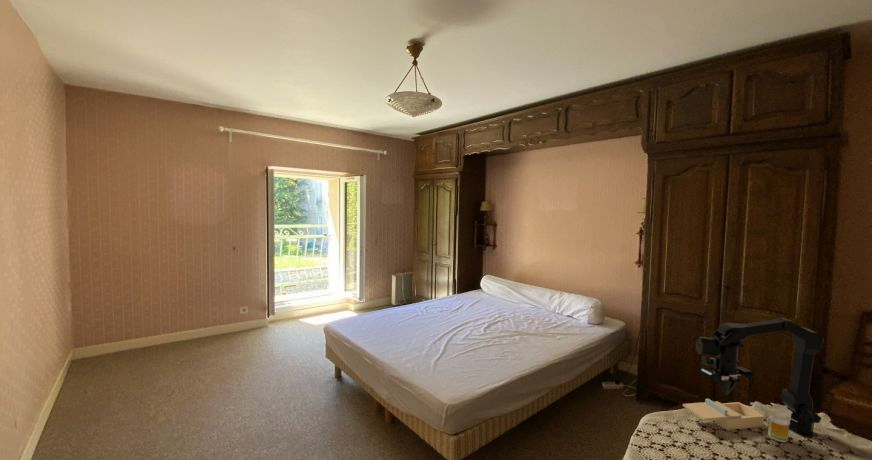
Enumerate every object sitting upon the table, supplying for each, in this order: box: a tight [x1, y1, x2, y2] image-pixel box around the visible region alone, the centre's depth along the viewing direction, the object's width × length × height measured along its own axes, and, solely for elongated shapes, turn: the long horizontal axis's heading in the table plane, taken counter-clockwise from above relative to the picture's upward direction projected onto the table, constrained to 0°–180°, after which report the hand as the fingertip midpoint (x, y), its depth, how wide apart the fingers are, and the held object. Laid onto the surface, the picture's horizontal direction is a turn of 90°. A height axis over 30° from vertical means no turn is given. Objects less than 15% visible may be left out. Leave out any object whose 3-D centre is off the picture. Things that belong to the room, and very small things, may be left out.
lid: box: [682, 398, 742, 421], centre depth 141 cm, size 16×10×3 cm, turn 98°
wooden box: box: [712, 401, 765, 431], centre depth 143 cm, size 16×10×4 cm, turn 98°
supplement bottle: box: [767, 409, 790, 443], centre depth 133 cm, size 5×5×10 cm
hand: (725, 394), depth 142 cm, fingers closed
